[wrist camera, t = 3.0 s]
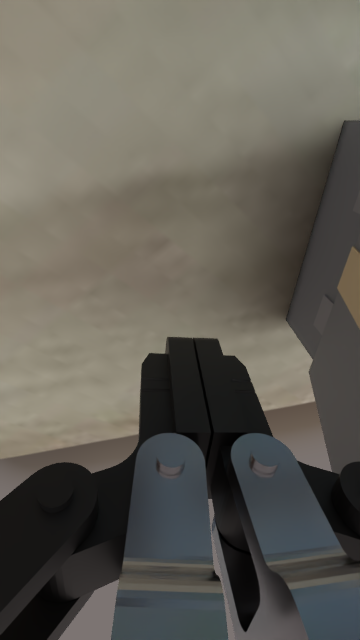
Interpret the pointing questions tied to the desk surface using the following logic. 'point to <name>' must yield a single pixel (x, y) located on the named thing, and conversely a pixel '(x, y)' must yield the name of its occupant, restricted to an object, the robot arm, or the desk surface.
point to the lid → (341, 370)
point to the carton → (329, 242)
